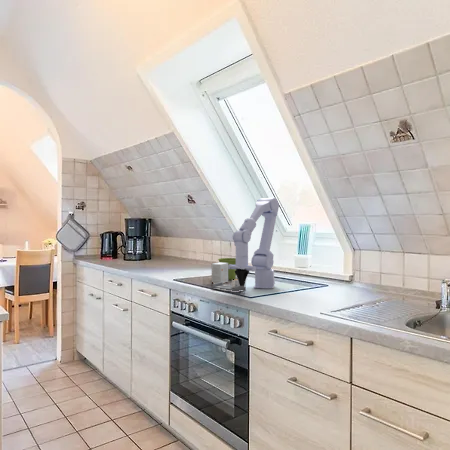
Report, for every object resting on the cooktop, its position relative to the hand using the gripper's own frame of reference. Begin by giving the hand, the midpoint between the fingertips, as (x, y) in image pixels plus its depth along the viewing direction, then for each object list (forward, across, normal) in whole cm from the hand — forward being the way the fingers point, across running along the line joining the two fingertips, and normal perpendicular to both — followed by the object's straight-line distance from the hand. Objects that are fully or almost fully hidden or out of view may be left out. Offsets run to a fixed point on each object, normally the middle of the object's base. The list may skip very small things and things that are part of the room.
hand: (242, 285), depth 192 cm
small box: (+3, -23, +13) cm, 26 cm away
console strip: (+3, -8, 0) cm, 8 cm away
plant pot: (+3, -28, +26) cm, 38 cm away
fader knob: (+1, -4, 0) cm, 4 cm away
